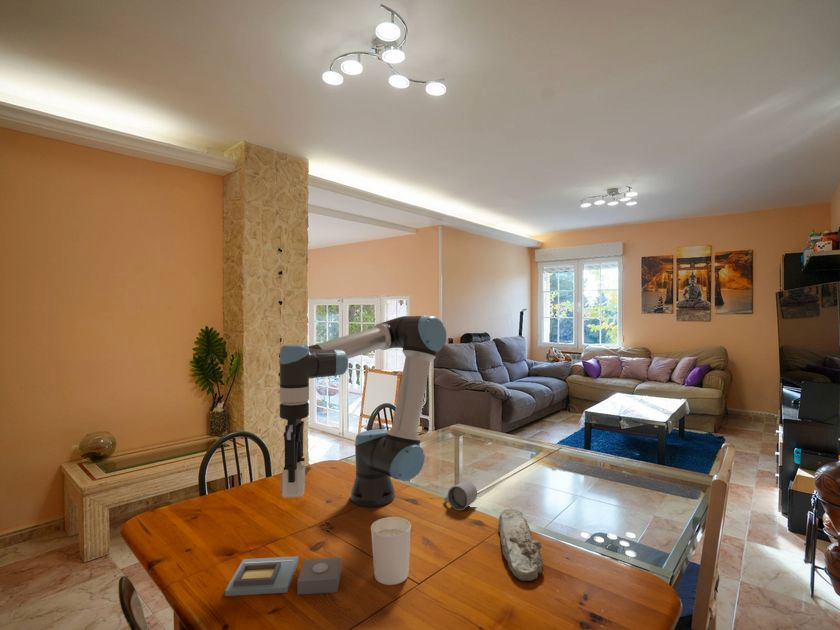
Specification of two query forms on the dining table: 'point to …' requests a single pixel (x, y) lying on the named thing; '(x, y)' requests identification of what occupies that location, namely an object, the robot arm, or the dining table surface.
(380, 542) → the candle holder
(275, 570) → the board
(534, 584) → the dining table surface
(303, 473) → the plug
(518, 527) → the long grey stone
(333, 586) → the grey push button box
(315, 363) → the robot arm
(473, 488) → the ceramic mug
